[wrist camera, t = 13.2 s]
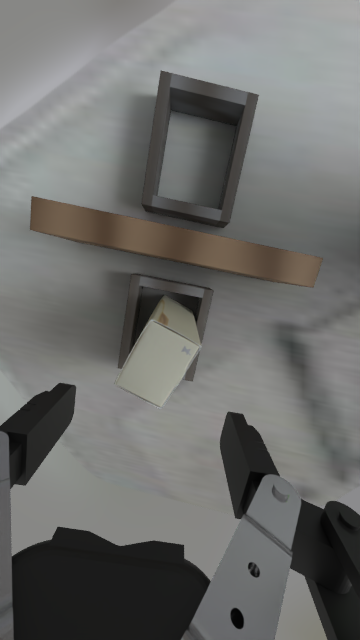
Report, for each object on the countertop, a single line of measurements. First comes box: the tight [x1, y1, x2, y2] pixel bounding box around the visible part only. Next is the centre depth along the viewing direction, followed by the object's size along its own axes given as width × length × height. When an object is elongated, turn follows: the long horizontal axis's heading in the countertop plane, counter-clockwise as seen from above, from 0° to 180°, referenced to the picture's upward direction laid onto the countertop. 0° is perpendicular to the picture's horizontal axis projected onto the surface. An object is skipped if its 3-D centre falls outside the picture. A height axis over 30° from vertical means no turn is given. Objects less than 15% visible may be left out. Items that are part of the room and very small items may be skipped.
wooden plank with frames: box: [30, 71, 323, 381], centre depth 22 cm, size 24×29×8 cm
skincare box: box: [114, 295, 201, 409], centre depth 22 cm, size 6×4×12 cm
